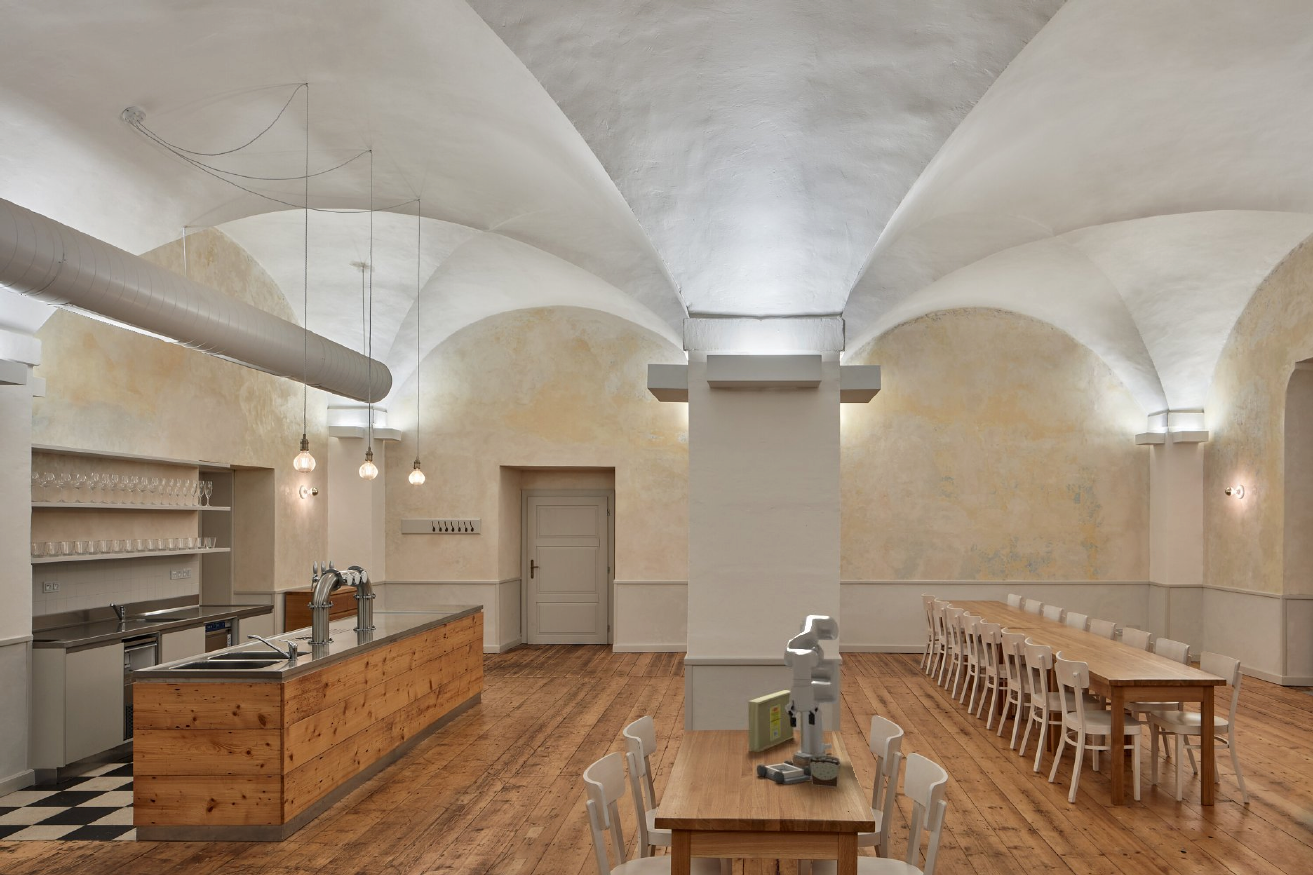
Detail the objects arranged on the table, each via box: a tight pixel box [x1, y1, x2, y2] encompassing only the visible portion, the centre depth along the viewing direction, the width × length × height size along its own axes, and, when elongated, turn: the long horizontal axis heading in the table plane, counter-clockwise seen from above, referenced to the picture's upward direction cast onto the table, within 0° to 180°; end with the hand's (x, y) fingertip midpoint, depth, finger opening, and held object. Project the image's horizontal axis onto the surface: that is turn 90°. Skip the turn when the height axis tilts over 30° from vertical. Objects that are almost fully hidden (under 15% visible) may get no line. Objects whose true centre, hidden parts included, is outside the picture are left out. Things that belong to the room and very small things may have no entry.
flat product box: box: [747, 689, 795, 753], centre depth 423 cm, size 35×5×22 cm, turn 145°
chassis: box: [756, 759, 812, 786], centre depth 365 cm, size 15×18×4 cm
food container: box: [808, 755, 841, 788], centre depth 356 cm, size 12×6×10 cm, turn 71°
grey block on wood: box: [792, 753, 812, 769], centre depth 377 cm, size 5×7×6 cm
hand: (802, 725), depth 378 cm, fingers open, 9 cm apart
